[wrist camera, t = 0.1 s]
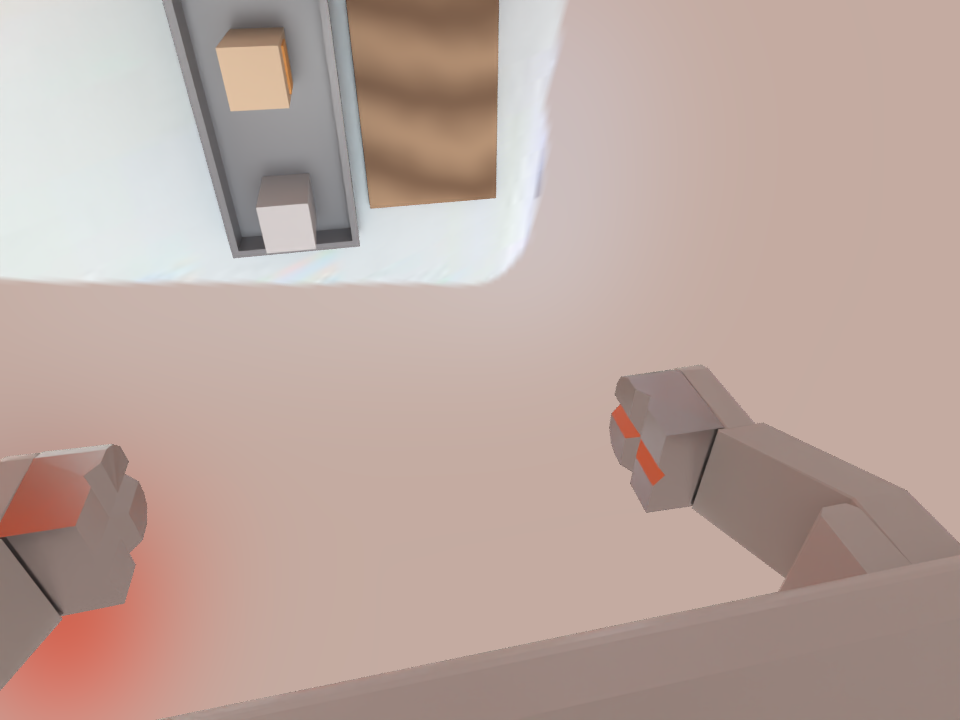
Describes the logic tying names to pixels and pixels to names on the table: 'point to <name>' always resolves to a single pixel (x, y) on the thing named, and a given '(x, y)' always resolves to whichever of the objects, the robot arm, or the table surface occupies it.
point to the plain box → (287, 213)
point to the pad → (426, 98)
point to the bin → (268, 117)
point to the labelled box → (255, 68)
